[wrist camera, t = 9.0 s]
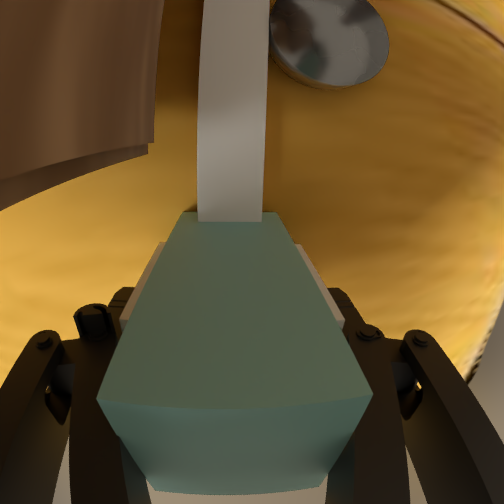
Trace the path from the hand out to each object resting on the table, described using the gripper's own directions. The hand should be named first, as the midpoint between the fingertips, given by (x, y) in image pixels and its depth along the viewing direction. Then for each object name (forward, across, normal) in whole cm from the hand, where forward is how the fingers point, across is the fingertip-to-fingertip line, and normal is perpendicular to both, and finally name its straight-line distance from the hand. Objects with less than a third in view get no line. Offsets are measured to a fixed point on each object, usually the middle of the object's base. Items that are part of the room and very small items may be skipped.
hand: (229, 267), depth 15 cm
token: (+2, +4, +12) cm, 13 cm away
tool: (+2, 0, +7) cm, 7 cm away
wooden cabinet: (+2, -10, +15) cm, 18 cm away
